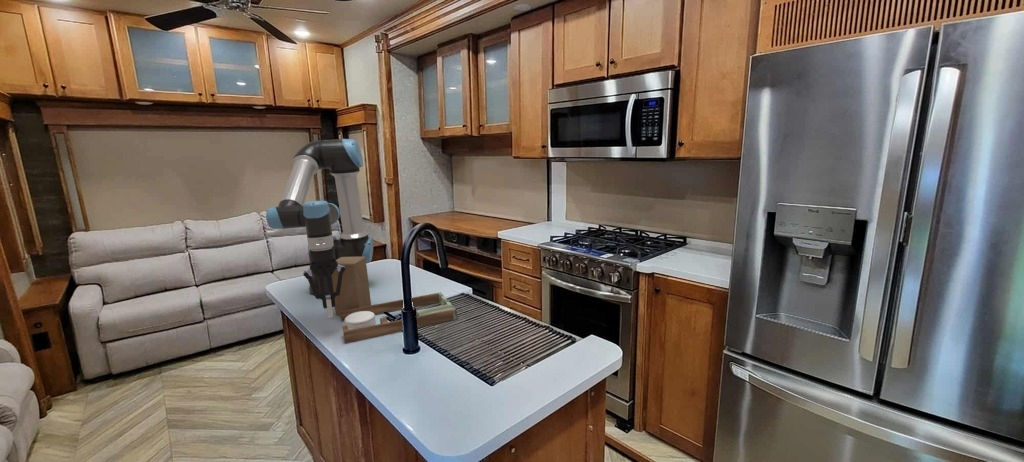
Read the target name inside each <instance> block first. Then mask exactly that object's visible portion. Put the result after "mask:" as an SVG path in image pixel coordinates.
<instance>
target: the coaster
mask: <svg viewBox="0 0 1024 462" xmlns="http://www.w3.org/2000/svg"><path fill="white" fill-rule="evenodd" d="M375 316H376V315H375V314H374V313H373V312H370V311H360V312H355V313H352V314H350V315H348V316H347V317H346V318H345V321H344V325H347V327H348V330H353V329H358V328H363V327H368V326H373V325H376V317H375Z"/></svg>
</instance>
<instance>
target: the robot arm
mask: <svg viewBox="0 0 1024 462" xmlns="http://www.w3.org/2000/svg"><path fill="white" fill-rule="evenodd" d="M362 154H363V153H362V151H361V148H360V145H359V143H358V142H357V140H355V139H352V138H339V139H319V140H318V139H317V140H313V141H310V142H308V143H307V144H305V145H304V146H302V147H301V148H299V149H298V151H296V153H295V154H294V156H293V158H292V161H291V168H292V169H291V172H290V174H289V177H288V180H287V183H286V185H285V187H284V190H283V193H282V195H281V197H280V201H279V202H278V205H277V206H275V205H274V206H273V207H268V209H266V213H265V220H266V223H267V225H268V227H269V228H270V229H271V230H273V229H274V230H286V229H287V230H288V229H297V228H298V229H299V228H305V231H306V237H307V238H306V239H307V250H308V252H307V254H308V260H309V268H308V269H306V270H304V271H303V277H304V278H306V279H307V281H308V283H309V288H308V290H309V294H311V295H314V297H315V299H316V300H321V301H322V306H323V307H322V308H323V309H324V310H327V317H328V319H332V318H334V314H333V313H334V312H333V308H334V307H335V297H336V296H339V295H340V289H341V282H342V275H343V272H344V271H345V266H341V265H339V264H338V263H337V261H336V260H337V259H339V258H341V257H366V264H369V263H371V261H372V260H373V254H374V238H373V237H372V236H369V232H368V231H366V230H365V228H364V221H363V214H362V206H361V198H360V192H359V184H358V174H359V173H360V172H361V170H360V168H363V166H364V161H363V155H362ZM319 170H329V174H330V175H331V176H332V177H334V179H335V187H336V192H337V193H336V194H337V200H338V205H339V206H337V205H336V204H334V203H331V202H328V201H327V200H312V201H307V202H306V200H307V196H308V193H309V190H310V187H311V185H312V180H313V177H314V175H316V174H317V173H318V171H319ZM339 218H340V220H341V228H342V233H341V234H340V235H339V239H338V238H337V237H336V236H335V235H333V230H332V225H333V224H335V223H337V222H338V220H339ZM336 268H338V269H337V270H338V278H337V286H336V291H335V292H334V290H333V283H332V274H333V273H334V271H335V269H336ZM326 295H330V296H328V297H327V296H326Z"/></svg>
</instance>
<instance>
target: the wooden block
mask: <svg viewBox="0 0 1024 462" xmlns="http://www.w3.org/2000/svg"><path fill="white" fill-rule="evenodd" d="M336 261H337V263H338V264H339V265H341V266H345V271H344V272H343V275H342V282H341V289H340V295H339V296H336V297H335V307H333V308H334V314H335V315H336V316H338V315H339V316H340V311H343V310H349V309H354V308H359V307H365V306H370V305H372V301H371V292H370V284H369V276H368V268H367V266H368V265H367V263H366V257H341V258H339V259H337V260H336ZM337 269H338V268H336V269H335V271H334V273H333V274H332V283H333V290H334V292H335V291H336V286H337V278H338V270H337Z"/></svg>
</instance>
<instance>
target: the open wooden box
mask: <svg viewBox="0 0 1024 462" xmlns="http://www.w3.org/2000/svg"><path fill="white" fill-rule="evenodd" d="M411 298H412V302H413V306H414V307H413V308H417V307H423V306H428V305H434V304H440V305H438V306H433V307H428V308H423V309H418V310H415V311H416V312H415V313H416V316H417V324H418V328H422V327H423V328H424V327H427V326H431V325H436V324H442V323H444V322H445V323H447V322H450V321H454V320H457V319H458V315H457V314H458V313H457V308H456V307H455V306H454V305H453V304H452V303H451V302H450V301H449V300H448V299H447V298H446V296H445V295H444V294H443V293H442V292H435V293H430V294H425V295H420V296H414V297H413V296H412V297H411ZM402 308H403V299H398V300H393V301H392V300H391V301H387V302H382V303H376V304H371V305H370V306H365V307H359V308H354V309H349V310H343V311H340V315H339V316H340V322H341V323H342V322H345V318H346V317H347V316H348V315H350V314H352V313H355V312H360V311H370V312H373V313H374V314H375V316H377V315H382V314H385V313H384V312H388V313H391V312H392V313H393V312H397V311H401V310H402ZM402 311H403V310H402ZM379 321H380V322H379V324H378V323H377V324H374V325H373V326H368V327H363V328H358V329H353V330H348V327H347V325H345V324H344V325H342V335H343V339H344V344H348V343H354V342H359V341H364V340H366V339H367V340H368V339H371V338H377V337H382V336H386V335H391V334H395V333H400V332H403V331H402V319H398V320H392V321H388V319H387V317H386V316H384V317H383V316H382V317H379ZM418 328H417V329H418Z"/></svg>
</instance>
